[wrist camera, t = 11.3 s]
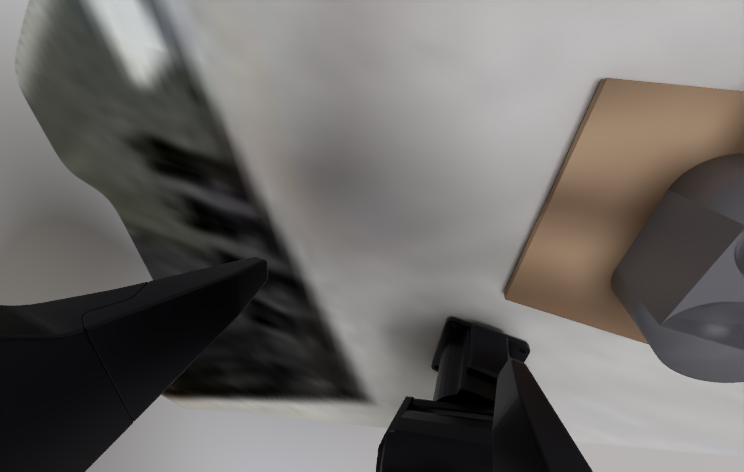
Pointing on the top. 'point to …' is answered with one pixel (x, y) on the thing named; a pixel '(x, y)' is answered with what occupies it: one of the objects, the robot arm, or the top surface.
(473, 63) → the top surface
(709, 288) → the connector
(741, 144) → the board
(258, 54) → the top surface
